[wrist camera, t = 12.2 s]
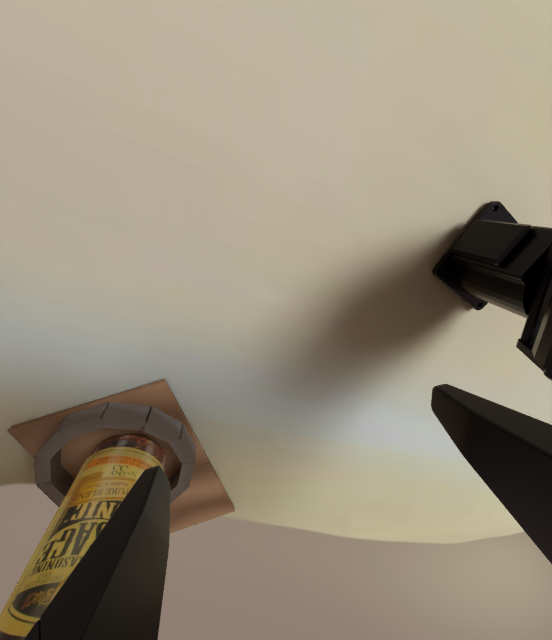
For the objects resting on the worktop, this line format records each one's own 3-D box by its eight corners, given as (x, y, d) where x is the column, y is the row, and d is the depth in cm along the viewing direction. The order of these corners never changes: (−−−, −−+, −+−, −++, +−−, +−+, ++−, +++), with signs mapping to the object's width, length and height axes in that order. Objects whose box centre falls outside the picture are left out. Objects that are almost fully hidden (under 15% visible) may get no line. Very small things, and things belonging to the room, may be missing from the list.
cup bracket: (234, 507, 30) (235, 527, 28) (124, 544, 29) (118, 567, 28) (164, 378, 22) (160, 395, 20) (11, 426, 21) (-8, 448, 20)
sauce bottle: (177, 436, 24) (61, 1114, 6) (156, 484, 26) (22, 1109, 8) (94, 420, 22) (-427, 1376, 4) (78, 474, 24) (-327, 1286, 6)
